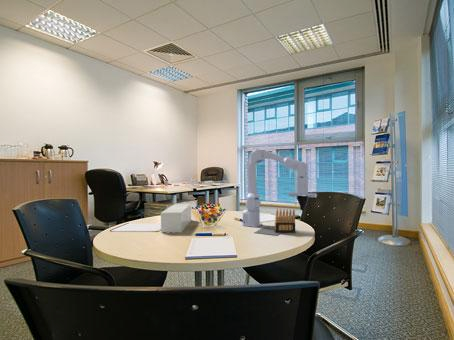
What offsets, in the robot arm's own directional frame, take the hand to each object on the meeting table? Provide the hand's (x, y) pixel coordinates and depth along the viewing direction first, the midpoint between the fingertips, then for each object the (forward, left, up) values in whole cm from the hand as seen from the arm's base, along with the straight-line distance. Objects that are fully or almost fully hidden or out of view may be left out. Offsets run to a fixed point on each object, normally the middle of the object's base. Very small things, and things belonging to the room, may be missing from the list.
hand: (302, 210), depth 139 cm
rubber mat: (-14, -11, -10) cm, 21 cm away
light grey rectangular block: (-66, -24, -11) cm, 72 cm away
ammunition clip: (-6, -11, -10) cm, 16 cm away
